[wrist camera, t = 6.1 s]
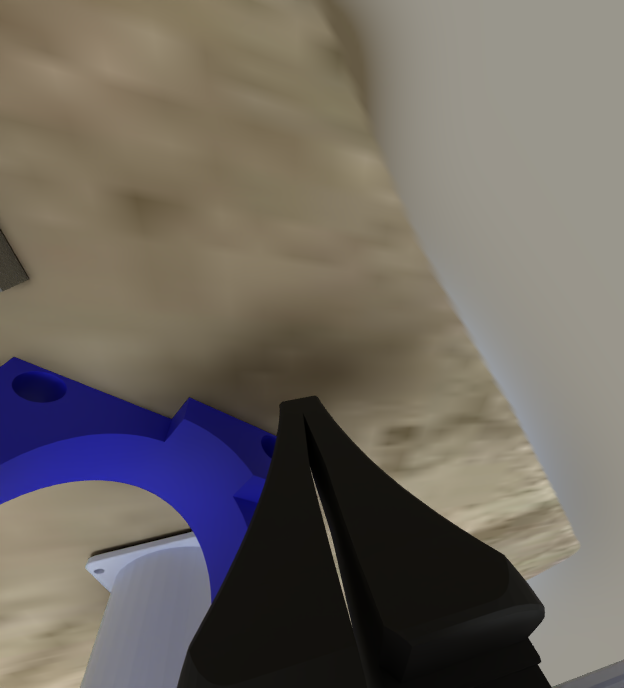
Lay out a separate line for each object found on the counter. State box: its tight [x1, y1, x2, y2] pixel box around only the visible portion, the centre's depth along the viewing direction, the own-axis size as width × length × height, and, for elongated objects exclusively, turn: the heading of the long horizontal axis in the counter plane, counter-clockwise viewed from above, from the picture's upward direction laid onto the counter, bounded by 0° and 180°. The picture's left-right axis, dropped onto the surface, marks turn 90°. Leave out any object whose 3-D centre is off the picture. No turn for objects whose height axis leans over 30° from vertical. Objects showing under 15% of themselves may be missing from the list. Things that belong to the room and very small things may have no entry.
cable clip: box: [0, 357, 277, 604], centre depth 11 cm, size 12×4×6 cm, turn 49°
